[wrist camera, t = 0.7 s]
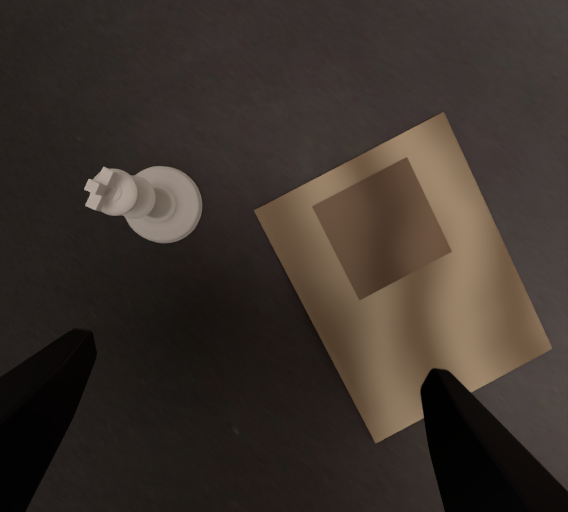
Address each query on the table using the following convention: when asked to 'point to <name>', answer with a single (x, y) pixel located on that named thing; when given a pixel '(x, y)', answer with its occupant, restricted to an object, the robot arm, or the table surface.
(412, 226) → the board
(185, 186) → the chess piece
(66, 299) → the table surface
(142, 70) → the table surface
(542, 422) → the table surface
